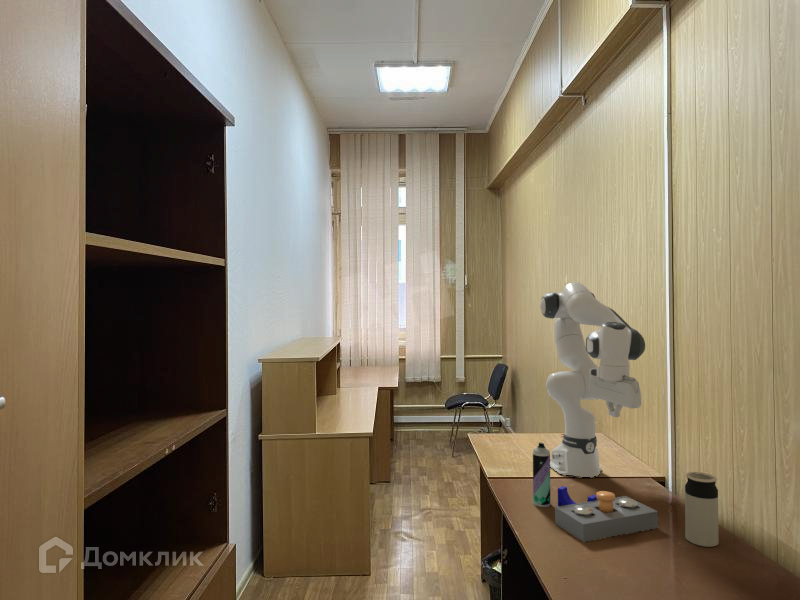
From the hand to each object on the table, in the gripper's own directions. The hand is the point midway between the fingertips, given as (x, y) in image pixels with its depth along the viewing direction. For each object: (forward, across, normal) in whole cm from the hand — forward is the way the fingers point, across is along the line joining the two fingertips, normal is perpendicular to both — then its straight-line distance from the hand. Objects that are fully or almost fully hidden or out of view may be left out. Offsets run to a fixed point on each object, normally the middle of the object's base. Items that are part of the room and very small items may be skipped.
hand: (614, 416), depth 172 cm
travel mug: (+29, -28, -6) cm, 41 cm away
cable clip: (+30, +2, +12) cm, 32 cm away
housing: (+29, -11, +12) cm, 33 cm away
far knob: (+29, -11, +4) cm, 31 cm away
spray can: (+30, +10, +20) cm, 37 cm away
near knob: (+29, -11, +20) cm, 37 cm away
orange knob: (+26, -11, +12) cm, 31 cm away
